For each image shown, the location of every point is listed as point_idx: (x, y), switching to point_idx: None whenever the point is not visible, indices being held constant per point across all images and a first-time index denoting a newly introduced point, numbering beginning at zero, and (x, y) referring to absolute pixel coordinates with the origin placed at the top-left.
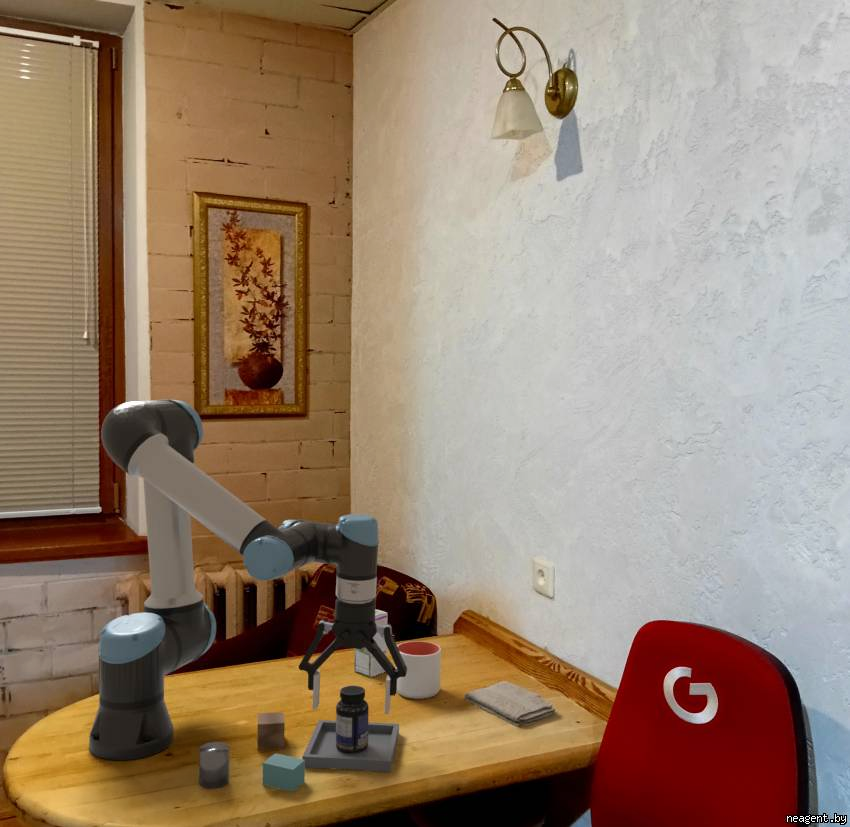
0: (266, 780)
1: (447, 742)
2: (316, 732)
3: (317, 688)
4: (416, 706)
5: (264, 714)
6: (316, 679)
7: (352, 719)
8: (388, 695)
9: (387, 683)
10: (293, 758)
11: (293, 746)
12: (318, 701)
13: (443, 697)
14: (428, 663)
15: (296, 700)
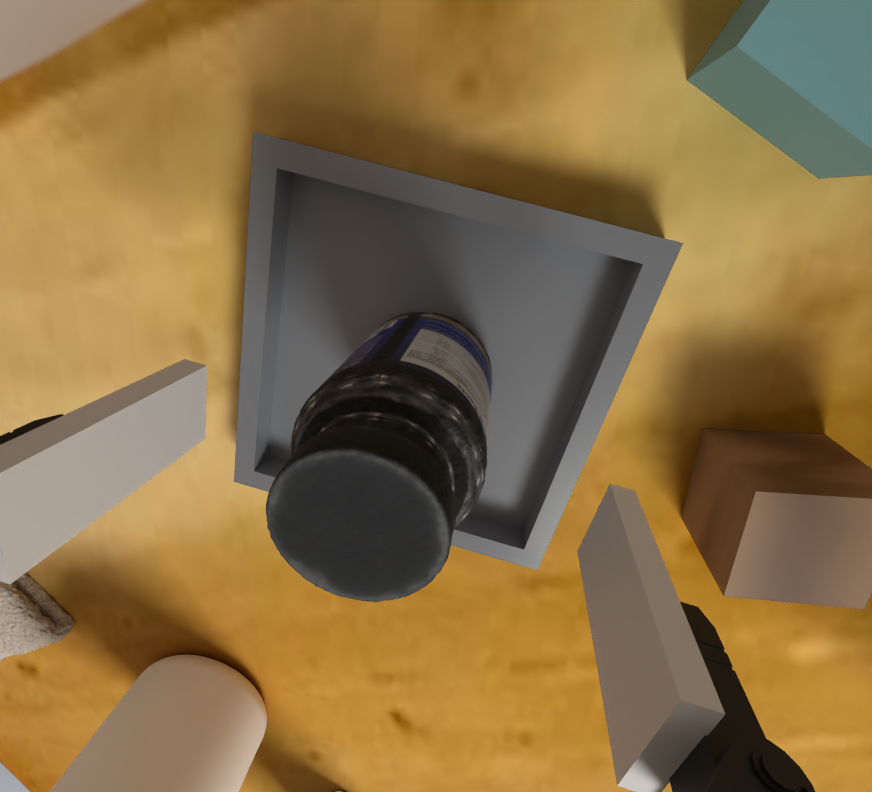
0: None
1: (86, 371)
2: (566, 471)
3: (638, 590)
4: (208, 619)
5: (833, 593)
6: (677, 662)
7: (398, 357)
8: (92, 408)
9: (5, 457)
10: (807, 75)
11: (660, 436)
12: (591, 547)
13: (136, 649)
14: (82, 775)
15: (578, 732)
